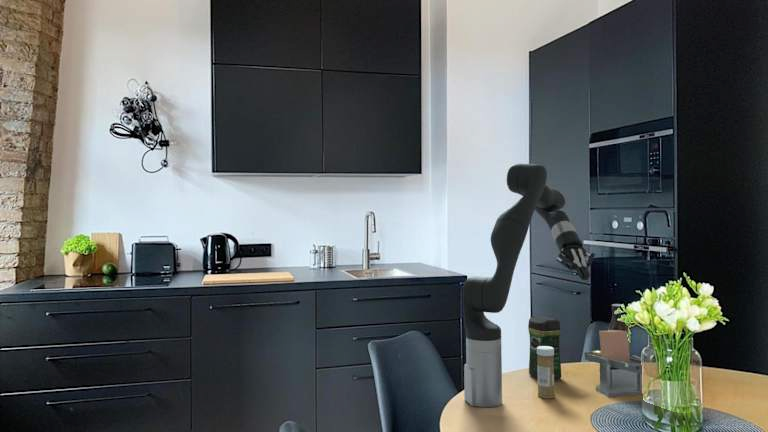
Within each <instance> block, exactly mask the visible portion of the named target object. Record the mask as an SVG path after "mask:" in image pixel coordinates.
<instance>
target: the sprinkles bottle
mask: <svg viewBox="0 0 768 432" xmlns="http://www.w3.org/2000/svg"><path fill="white" fill-rule="evenodd" d="M537 356H538V365H537V371H538V379H537V396H538V397H539V398H541V399H547V400H548V399H553V398H555V396H556V394H555V381H554V361H553V357H554V348H553V347H550V346H539V347H537Z"/></svg>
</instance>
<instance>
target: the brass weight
mask: <svg viewBox="0 0 768 432" xmlns="http://www.w3.org/2000/svg"><path fill="white" fill-rule="evenodd" d="M592 352H593V355H596V356H600V357H601V349H600V350H599V349H598V350H593V351H592Z"/></svg>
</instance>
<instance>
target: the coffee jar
mask: <svg viewBox="0 0 768 432" xmlns="http://www.w3.org/2000/svg"><path fill="white" fill-rule="evenodd" d="M527 329H528V334H529V361H528V374H529V375H530V377H533V378H536V379H537V380H538V371H537V365H538V356H537V347H539V346H550V347H553V348H554V357H553V361H554V382H555V381H558V380H560V379H561V378H562V362H561V351H560V336H561V332H562V331H561V330H562V328H561V322H560V321H559V320H558V319H556V318H552V317H549V316H545V315H535V316H530V318H529V319H528V327H527Z"/></svg>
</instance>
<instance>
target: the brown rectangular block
mask: <svg viewBox="0 0 768 432" xmlns="http://www.w3.org/2000/svg"><path fill="white" fill-rule="evenodd" d="M598 333H599V334H598V335H599V344H600V350H601V357H604V358H608V359H612V360H616V361H629V360H630V356H631V355H630V356H629V353H630V345H629V346H628V339H627V331H619V330H609V329H608V330H598Z"/></svg>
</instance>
